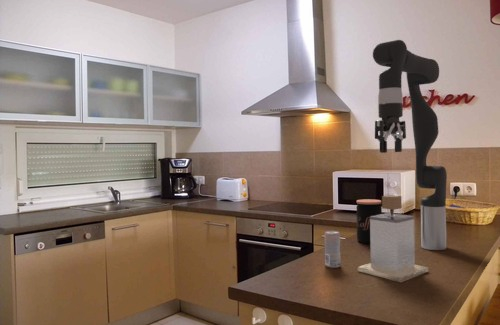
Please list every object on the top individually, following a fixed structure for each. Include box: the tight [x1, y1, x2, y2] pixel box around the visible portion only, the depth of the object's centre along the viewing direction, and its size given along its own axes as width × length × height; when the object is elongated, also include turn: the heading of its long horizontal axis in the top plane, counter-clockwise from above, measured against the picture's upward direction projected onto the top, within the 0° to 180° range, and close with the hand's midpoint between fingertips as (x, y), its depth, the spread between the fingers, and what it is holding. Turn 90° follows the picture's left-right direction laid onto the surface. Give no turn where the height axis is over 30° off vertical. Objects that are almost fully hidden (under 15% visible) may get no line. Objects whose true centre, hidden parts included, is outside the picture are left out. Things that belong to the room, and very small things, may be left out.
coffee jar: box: [356, 198, 383, 245], centre depth 183 cm, size 11×11×18 cm
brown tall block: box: [381, 194, 402, 217], centre depth 139 cm, size 7×7×21 cm
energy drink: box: [324, 230, 341, 269], centre depth 147 cm, size 5×5×12 cm
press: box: [357, 212, 429, 283], centre depth 139 cm, size 16×16×18 cm
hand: (390, 152), depth 138 cm, fingers open, 8 cm apart
